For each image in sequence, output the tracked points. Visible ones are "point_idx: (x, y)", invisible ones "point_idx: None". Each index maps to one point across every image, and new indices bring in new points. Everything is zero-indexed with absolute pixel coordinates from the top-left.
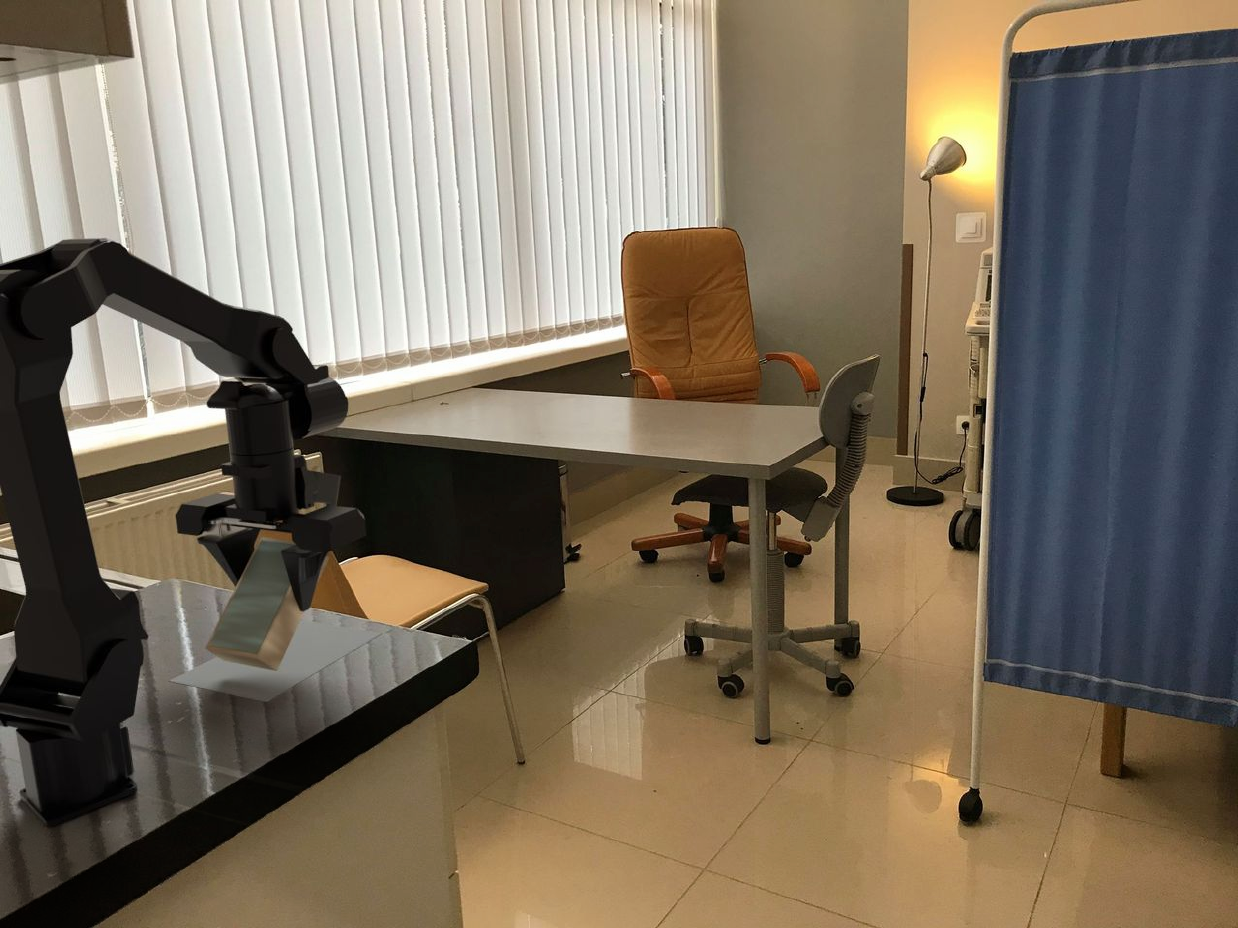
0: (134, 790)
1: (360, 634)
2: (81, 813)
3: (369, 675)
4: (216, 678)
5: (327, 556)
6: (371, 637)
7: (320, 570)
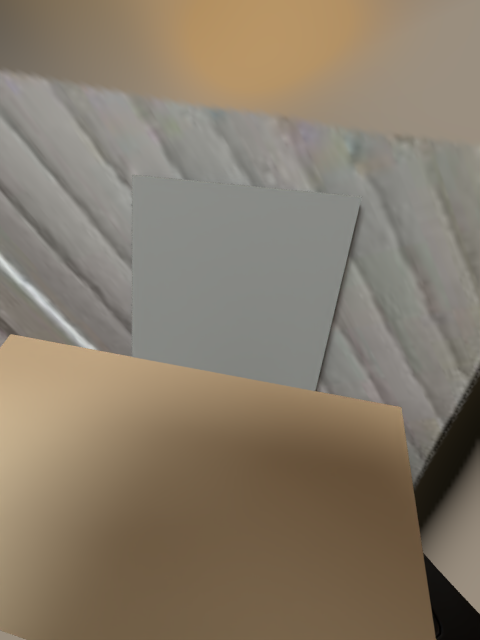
0: None
1: (315, 215)
2: None
3: (400, 356)
4: None
5: (402, 427)
6: (347, 225)
7: (428, 561)
